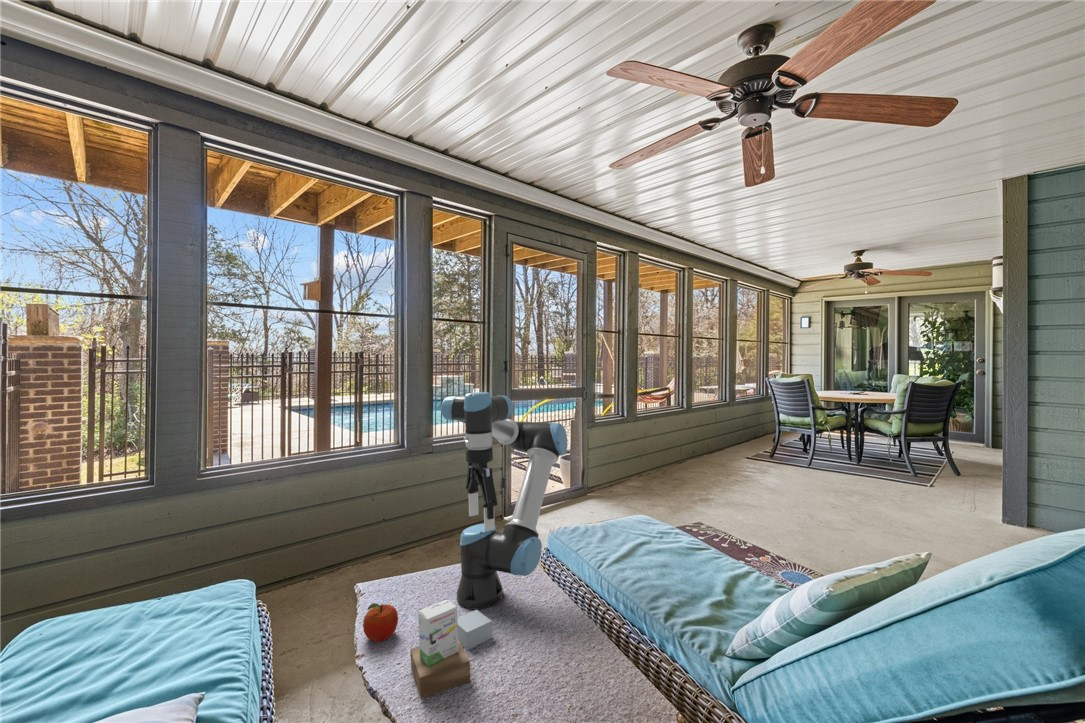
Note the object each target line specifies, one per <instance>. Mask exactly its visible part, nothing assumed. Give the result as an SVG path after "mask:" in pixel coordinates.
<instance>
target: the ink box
mask: <svg viewBox="0 0 1085 723" xmlns="http://www.w3.org/2000/svg"><path fill="white" fill-rule="evenodd" d="M417 614H418V617H417V618H418V619H417V620H418V640H419V641H418V642H419V643H418V644H419V646H418V647H419V648H420V659H421V660H422V661H423V662H424V663H425V664H426V665H427V666H431V665H433V664H435V663H437V662H439V661H441V660H443V659H445V658H447V657H449V656H451V655H453V654H455V653H457V652H458V622H457V618H458V606H457V605H456V604H454V603H453V602H452V601H451V600H449V599H445V600H442V601H440V602H437V603H434V604H432V605H429V606H427V607H424V608H421V609H420V611H418V613H417Z"/></svg>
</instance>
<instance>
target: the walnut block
mask: <svg viewBox="0 0 1085 723" xmlns="http://www.w3.org/2000/svg"><path fill="white" fill-rule="evenodd" d="M409 651H410V670H411V672H412V676H413V679H414V682H415V686H416V689H417V691H418V692H417V693H418V694H419V698H420V699H421V700H422V699H425V698H427V697H431V696H434V695H436V694H439V693H442V692H444V691H447V690H450V689H453V688H455V687H458V686H461V685H463V684H467V683H470V682H471V660H470V659H469V657H468V655H467V653H466V651H465V649H464V646H463V645H461V643H460V641H459V640H458V652H457V653H455V654H453V655H451V656H449V657H447V658H445V659H443V660H441V661H439V662H437V663H435V664H433V665H431V666H427V665H426V664H425V663H424V662H423V661H422V660H421V659H420V648H419V646H416V647H412V648H410V650H409Z"/></svg>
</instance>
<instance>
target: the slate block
mask: <svg viewBox="0 0 1085 723" xmlns="http://www.w3.org/2000/svg"><path fill="white" fill-rule="evenodd" d="M457 622H458V640H459V641H460V643H461V645H462V647H463V648H465V650H467V651H469V650H470V649H473V648H475V647H476V645H477V646H478V644H479V645H481V644H483V643H485V642H487V641H488V639H489V640H490V638H491V639H493V624H492V623H493V622H492V620H491V619H490V618H488V617H487V616H485V615H484V614H483V613H482V612H480V611H479V609H473V610H472V611H471V612H468V613H465V614H463V615H461V616H459V617H458V616H457ZM486 640H487V641H486ZM484 641H485V642H484ZM482 642H483V643H482Z"/></svg>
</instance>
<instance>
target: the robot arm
mask: <svg viewBox="0 0 1085 723" xmlns="http://www.w3.org/2000/svg"><path fill="white" fill-rule="evenodd" d="M514 407H515V406H514V403H513V401H512V400H511V399H510V397H508V396H506V395H496V396H492V394H490V392H488V391H485V392H484V391H477V392H476V391H474V392H467V393H466V394H465V395H464V396H463V395H452V396H447V397H445V398H444V399H443V401H442V403H441V406H440V412H441V416H442V417H443V418H444V419H445V420H448V421H452V422H454V421H458V422H461V423H463V424H464V428H465V430H464V431H465V432H464V434H465V435H464V437H463V440H464V441H465V447H466V449H465V461H466V462H467V464H468V465H467V466H468V467H467V473H466V474H467V475H466V481H465V482H466V483H465V490H467V493H468V517H474V516H479V515H480V514H479V513H480V512H479V491H480V490H481V495H482V499H483V503H484V504H483V505H482V508H483V523H479V524H478V523H477V524H475V525H471V526H469V527H467V528H465V529H464V530H462V532H461V534H460V543H459V546H460V563H461V564H460V568H461V576H460V580H459V583H458V586H457V590H456V601H457V604H458V605H460V606H462V607H463V608H466V609H472V610H480V609H481V610H482V609H485V608H490V607H492V606H494V605H496V604H498V603H500V601H501V600H502V599H503V596H504V592H503V591H504V589H503V585H502V581H501V580H500V577H499V574H498V572H500V573H506V574H511V575H514V576H525V577H526V576H529V575H531V574H532V573H533V572H534V571H535V570H536V568H537V567H538V564H539V562H540V560H541V556H542V553H543V552H542V548H543V545H542V541H541V539H540V538H539V536H540V535H539V532H538V530H537V525H538V521H539V517H540V514H541V510H542V505H543V502H544V499H545V494H546V490H547V487H548V482H549V478H550V475H551V471H552V467H553V465H554V464H556V463H558V460H559V457H560V456H565V454H566V453H567V451H568V437H567V436H568V435H567V431H566V428H565V427H564V425H563V424H561V423H560V422H559V423H558V422H553V421H552V422H538V421H537V422H534V421H516V420H515V421H514V420H513V419H511V418H510V417H511V416H512V414H513V413H514V409H515V408H514ZM493 438H495V439H496V441H498V443H500V444H501V445H503V446H505V447H508V448H510V449H513V450H515V451H518V452H520V453H525V454H526V455H527V456H528V458H529V459H528V461H527V466H526V469H525V472H524V476H523V480H522V483H521V487H520V489H519V494H518V496H517V499H516V503H515V506H514V509H513V513H512V515H511V519H510V521H509V522H507V523H506V524H504V526H503V527H504V528H503V531H497V528H496V525H495V522H496V519H495V506H498V499H497V494H496V488H495V484H494V482H495V481H494V477H493V468H490V467H489V468H488V463H490V462H492V461H493V460H494V456H493V447H492V446H493V441H494V440H493ZM479 487H480V490H479Z"/></svg>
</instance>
